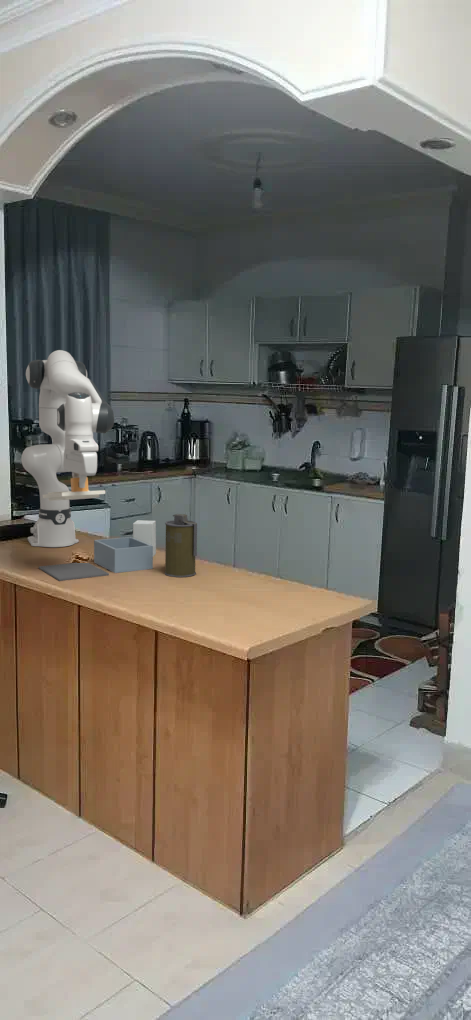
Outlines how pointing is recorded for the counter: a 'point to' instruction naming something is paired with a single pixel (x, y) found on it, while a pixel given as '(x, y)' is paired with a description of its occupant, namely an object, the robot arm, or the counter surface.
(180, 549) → the canister
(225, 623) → the counter surface
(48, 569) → the mat
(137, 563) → the grey storage box
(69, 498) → the lid
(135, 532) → the supplement box
